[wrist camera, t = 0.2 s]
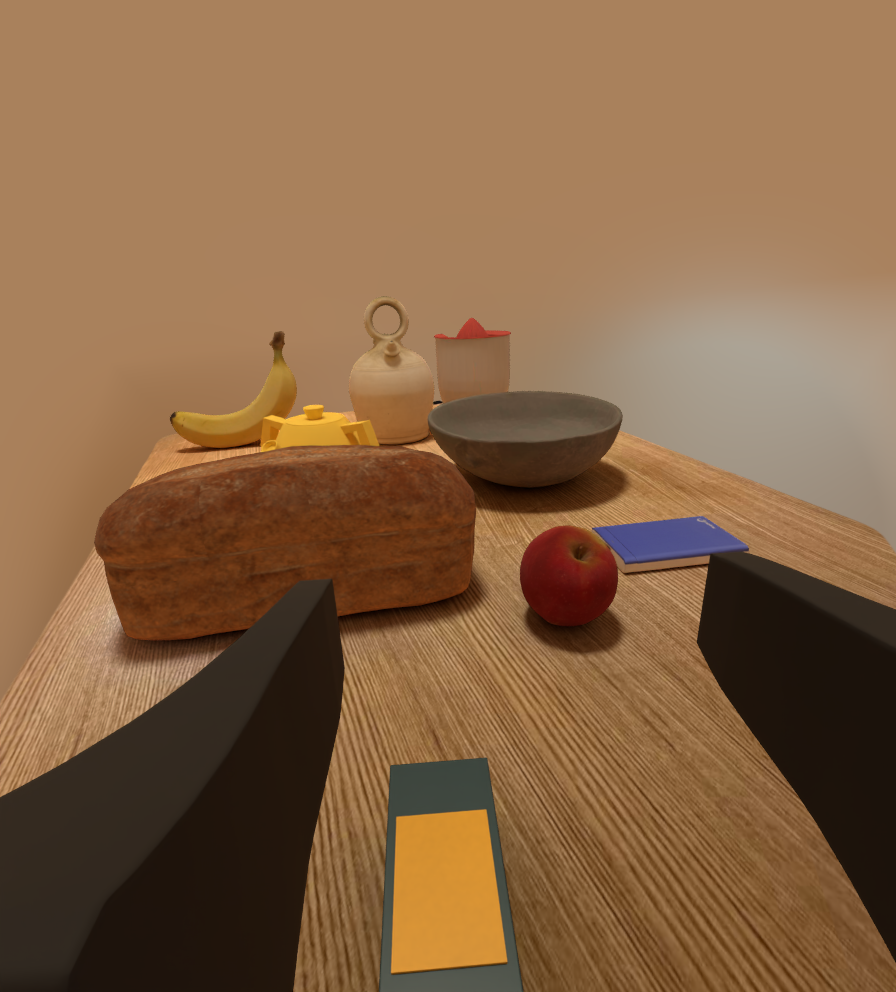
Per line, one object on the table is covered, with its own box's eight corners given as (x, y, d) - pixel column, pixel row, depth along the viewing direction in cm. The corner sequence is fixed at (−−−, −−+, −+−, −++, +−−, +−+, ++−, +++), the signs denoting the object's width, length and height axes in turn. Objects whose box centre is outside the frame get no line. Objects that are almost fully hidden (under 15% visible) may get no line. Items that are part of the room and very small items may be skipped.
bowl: (636, 461, 84) (641, 395, 81) (587, 526, 63) (591, 440, 59) (480, 445, 96) (478, 387, 93) (394, 495, 75) (388, 422, 71)
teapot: (216, 499, 77) (200, 420, 73) (295, 460, 93) (286, 395, 89) (340, 513, 70) (330, 427, 66) (403, 469, 86) (398, 398, 82)
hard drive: (701, 514, 60) (591, 525, 59) (749, 546, 53) (625, 560, 51) (699, 527, 61) (591, 539, 60) (747, 560, 53) (624, 575, 52)
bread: (149, 587, 54) (114, 453, 49) (459, 547, 59) (454, 422, 54) (102, 664, 43) (50, 500, 38) (490, 606, 48) (486, 456, 43)
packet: (535, 1149, 18) (536, 1076, 16) (385, 1165, 18) (372, 1093, 16) (488, 816, 29) (486, 755, 28) (396, 823, 29) (390, 763, 27)
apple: (515, 643, 43) (514, 550, 40) (523, 590, 50) (523, 508, 47) (617, 652, 41) (624, 555, 38) (611, 596, 49) (616, 511, 46)
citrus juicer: (479, 404, 130) (476, 314, 123) (526, 416, 116) (526, 315, 109) (421, 414, 123) (415, 319, 116) (464, 428, 109) (460, 321, 102)
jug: (366, 427, 113) (352, 297, 104) (441, 426, 111) (434, 293, 102) (344, 448, 99) (327, 299, 90) (430, 447, 97) (421, 295, 88)
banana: (174, 456, 99) (148, 340, 92) (180, 447, 105) (155, 337, 98) (304, 442, 104) (288, 331, 97) (303, 435, 110) (288, 329, 103)
